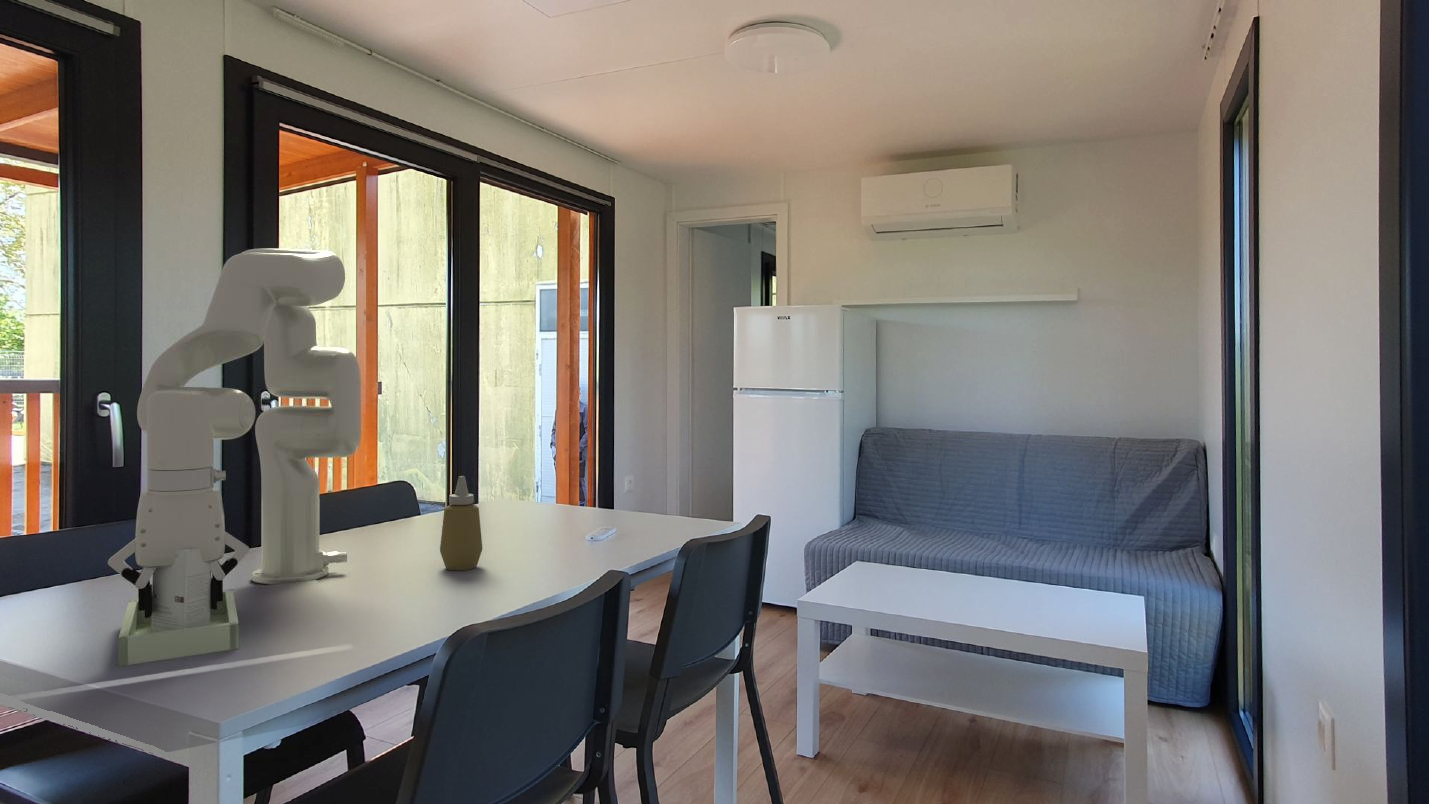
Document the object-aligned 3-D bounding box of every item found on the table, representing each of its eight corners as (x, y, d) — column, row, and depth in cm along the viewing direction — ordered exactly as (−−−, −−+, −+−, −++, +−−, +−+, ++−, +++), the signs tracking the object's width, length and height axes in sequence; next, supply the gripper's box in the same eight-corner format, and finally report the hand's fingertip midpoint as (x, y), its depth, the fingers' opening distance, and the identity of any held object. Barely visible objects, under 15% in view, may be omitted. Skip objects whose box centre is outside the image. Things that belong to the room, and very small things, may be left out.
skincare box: (149, 636, 108) (148, 547, 108) (180, 626, 112) (179, 540, 112) (183, 641, 106) (183, 550, 106) (214, 631, 110) (213, 544, 110)
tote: (232, 615, 124) (232, 589, 124) (238, 652, 108) (238, 623, 107) (129, 628, 117) (129, 600, 117) (118, 670, 100) (118, 639, 100)
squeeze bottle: (465, 561, 163) (466, 473, 162) (491, 567, 158) (491, 476, 158) (430, 568, 156) (431, 476, 156) (456, 574, 152) (457, 480, 151)
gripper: (253, 474, 116) (253, 596, 117) (103, 481, 107) (104, 613, 108) (256, 480, 110) (256, 609, 111) (97, 488, 101) (98, 629, 101)
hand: (181, 610), depth 109 cm, fingers closed on skincare box, 6 cm apart
